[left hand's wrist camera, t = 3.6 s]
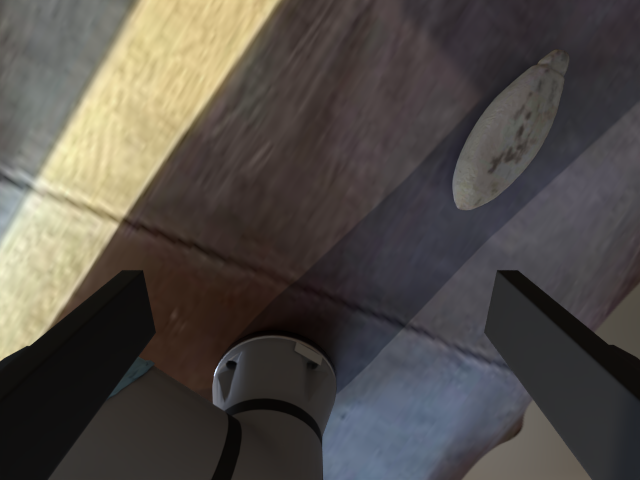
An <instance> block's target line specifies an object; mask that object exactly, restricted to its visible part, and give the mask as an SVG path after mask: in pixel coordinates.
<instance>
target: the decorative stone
mask: <svg viewBox="0 0 640 480" xmlns="http://www.w3.org/2000/svg"><path fill="white" fill-rule="evenodd" d="M568 63H569V55H568V53H567V52H565V51H563V50H558V49H556V50H553V51H552V52H550V53H549V54H547V55H546V56H545V57H544V58H542V59H541V60H540V61H539V62H538V64H537V65H534V66H532V67H530V68H529V69H528V70H526V71H525V72H524V73H523V74H522V75H520V76H519V77H518V78H517V79H516V80H514V81H513V82H512V83H511V84H510V85H509V86H508V87H507V88H506V89H504V90H503V91H502V92H501V93H500V94H499V95H498V96H497V97H496V98H495V99H494V100H493V102H492V103H491V104H490V105H489V106H488V107H487V109H486V110H485V111H484V113H483V114H482V116H481V117H480V118H479V120H478V122H477V123H476V125H475V126H474V128H473V129H472V131H471V133H470V134H469V136H468V138H467V140H466V143H465V145H464V147H463V149H462V151H461V153H460V156H459V159H458V161H457V165H456V168H455V172H454V176H453V185H452V186H453V195H454V201H455V203H456V206H457V208H458V209H461V210H471V209H474V208H477V207H479V206H482V205H484V204H485V203H488V202H489V201H491V200H493V199H495V198H496V197H497V196H498V195H500V194H501V193H502V192H503V191H504V190H505V189H506V188H507V187H509V186H510V185H511V184H512V183H513V182H514V181H515V179H516V178H517V177H518V176H519V175H520V174H521V173H522V172H523V171H524V170H525V169H526V168H527V166H528V165H529V164H530V162H531V161H532V160H533V158H534V157H535V156H536V154H537V153H538V151H539V149H540V148H541V146H542V145H543V143H544V141H545V139H546V137H547V135H548V133H549V131H550V128H551V126H552V124H553V121H554V118H555V116H556V113H557V110H558V106H559V102H560V98H561V94H562V91H563V85H564V80H565V79H564V77H563V76H564V75H565V73H566V71H567V68H568Z"/></svg>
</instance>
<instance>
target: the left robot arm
mask: <svg viewBox="0 0 640 480" xmlns="http://www.w3.org/2000/svg"><path fill="white" fill-rule="evenodd" d="M155 333H156V331H155V326H154V321H153V316H152V312H151V307H150V302H149V297H148V292H147V288H146V283H145V278H144V273H143V270H122V271H121V272H120V273H118V274H117V275H116V276H115V277H114V278H112V279H111V280H110V281H109V282H107V283H106V284H105V285H104V286H103V287H101V288H100V289H99V290H98V291H96V292H95V293H94V294H93V295H92V296H90V297H89V298H88V299H87V300H85V301H84V302H83V303H82V304H81V305H79V306H78V307H77V308H76V309H74V310H73V311H72V312H71V313H70V314H68V315H67V316H66V317H65V318H63V319H62V320H61V321H60V322H59V323H57V324H56V325H55V326H54V327H52V328H51V329H50V330H49V331H48V332H46V333H45V334H44V335H43V336H41V337H40V338H39V339H38V340H37V341H35V342H34V343H33V344H32V345H30V346H26V347H24V348H22V349H21V350H19V351H17V352H15V353H13V354H11V355H9V356H8V357H6V358H4V359H3V360H1V361H0V480H323V459H322V436H323V433H324V430H325V428H326V425H327V422H328V419H329V416H330V414H331V411H332V408H333V405H334V402H335V396H336V375H335V370H334V367H333V364H332V362H331V360H330V359H329V357H328V356H327V354H326V353H325V352H324V351H323V350H322V349H321V348H320V347H319V346H318V345H316V344H315V343H314V342H312V341H310V340H309V339H307V338H304V337H302V336H300V335H297V334H293V333H289V332H283V331H264V332H258V333H254V334H251V335H248V336H246V337H243V338H242V339H240V340H238V341H236V342H235V343H234V344H232V345H231V346H230V347H229V348H228V349H227V350H226V351H225V353H224V354H223V356H222V357H221V359H220V361H219V364H218V366H217V369H216V372H215V375H214V381H213V403H211V402H209V401H208V400H206V399H205V398H203V397H202V396H200V395H198V394H197V393H195V392H194V391H192V390H191V389H189V388H188V387H186V386H184V385H183V384H181V383H180V382H178V381H177V380H175V379H173V378H172V377H170V376H169V375H167V374H166V373H164V372H163V371H161V370H159V369H158V368H156V367H155V366H153V365H154V364H155V363H153V362H152V361H151V360H148V361H145V360H143V359H142V358H140V357H138V356H139V355H140V353H141V352H142V351H143V349H144V348H145V347H146V345H147V344H148V343H149V341H150V340H151V338H152V337H153V336H154V334H155ZM484 333H485V334H486V336H487V337H488V338H489V340H490V341H491V343H492V344H493V345H494V347H495V348H496V349H497V351H498V352H499V353H500V355H501V356H502V358H503V359H504V360H505V362H506V363H507V364H508V366H509V367H510V368H511V370H512V371H513V373H514V374H515V375H516V377H517V378H518V379H519V381H520V382H521V383H522V385H523V386H524V388H525V389H526V390H527V392H528V393H529V394H530V396H531V397H532V398H533V400H534V401H535V402H536V404H537V405H538V407H539V408H540V409H541V411H542V412H543V413H544V415H545V416H546V418H547V419H548V420H549V422H550V423H551V424H552V426H553V427H554V428H555V430H556V431H557V433H558V434H559V435H560V437H561V438H562V439H563V441H564V442H565V443H566V445H567V446H568V448H569V449H570V450H571V452H572V453H573V454H574V456H575V457H576V458H577V460H578V461H579V462H580V464H581V465H582V467H583V468H584V469H585V471H586V472H587V473H588V475H589V476H590V478H591V479H592V480H640V360H639V359H638V358H637V357H635V356H633V355H631V354H630V353H628V352H626V351H624V350H622V349H620V348H618V347H616V346H615V345H608V344H607V343H606V342H605V341H603V340H602V339H601V338H600V337H599V336H597V335H596V334H595V333H594V332H592V331H591V330H590V329H589V328H588V327H586V326H585V325H584V324H583V323H581V322H580V321H579V320H578V319H577V318H575V317H574V316H573V315H572V314H570V313H569V312H568V311H567V310H566V309H564V308H563V307H562V306H561V305H559V304H558V303H557V302H556V301H555V300H553V299H552V298H551V297H550V296H548V295H547V294H546V293H545V292H544V291H542V290H541V289H540V288H539V287H537V286H536V285H535V284H534V283H533V282H531V281H530V280H529V279H528V278H526V277H525V276H524V275H523V274H522V273H520V272H519V271H518V270H497V273H496V278H495V283H494V288H493V292H492V297H491V302H490V307H489V312H488V316H487V321H486V326H485V331H484Z"/></svg>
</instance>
